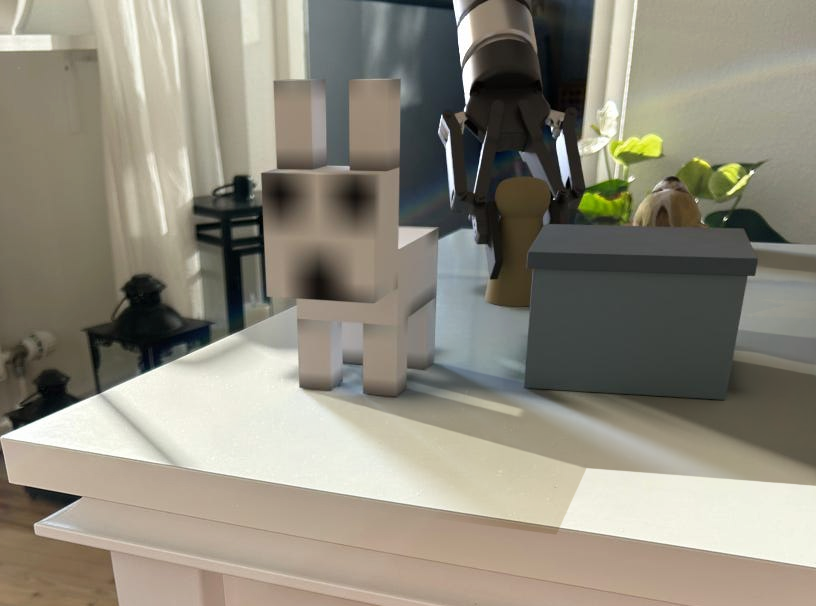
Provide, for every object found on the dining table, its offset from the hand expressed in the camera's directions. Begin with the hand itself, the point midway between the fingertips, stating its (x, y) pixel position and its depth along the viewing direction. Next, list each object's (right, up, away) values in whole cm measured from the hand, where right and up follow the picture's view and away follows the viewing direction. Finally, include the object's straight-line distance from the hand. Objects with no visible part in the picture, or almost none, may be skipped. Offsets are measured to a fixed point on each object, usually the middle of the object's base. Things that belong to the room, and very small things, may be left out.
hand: (527, 269), depth 96 cm
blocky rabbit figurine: (-16, -15, -18) cm, 28 cm away
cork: (0, -1, +5) cm, 5 cm away
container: (+4, -14, -18) cm, 23 cm away
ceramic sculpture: (+21, +11, +25) cm, 34 cm away
